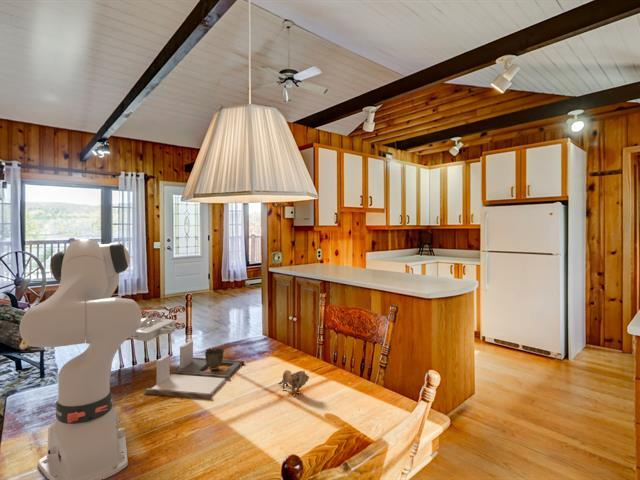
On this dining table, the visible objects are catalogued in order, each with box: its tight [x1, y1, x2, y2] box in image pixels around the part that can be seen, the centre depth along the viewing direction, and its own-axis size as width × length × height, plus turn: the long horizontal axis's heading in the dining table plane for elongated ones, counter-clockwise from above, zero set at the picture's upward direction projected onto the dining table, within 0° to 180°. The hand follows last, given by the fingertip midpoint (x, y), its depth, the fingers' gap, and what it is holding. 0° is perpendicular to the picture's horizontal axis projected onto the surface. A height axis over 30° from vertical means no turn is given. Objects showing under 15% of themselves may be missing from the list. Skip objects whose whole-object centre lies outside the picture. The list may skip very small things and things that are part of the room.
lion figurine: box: [277, 369, 310, 395], centre depth 128 cm, size 15×5×9 cm, turn 46°
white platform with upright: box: [150, 354, 226, 395], centre depth 130 cm, size 22×13×10 cm, turn 82°
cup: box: [204, 347, 225, 372], centre depth 147 cm, size 8×7×8 cm
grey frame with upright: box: [175, 340, 242, 376], centre depth 147 cm, size 22×13×10 cm, turn 82°
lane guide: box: [144, 356, 245, 400], centre depth 139 cm, size 24×33×2 cm
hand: (173, 330), depth 150 cm, fingers closed
